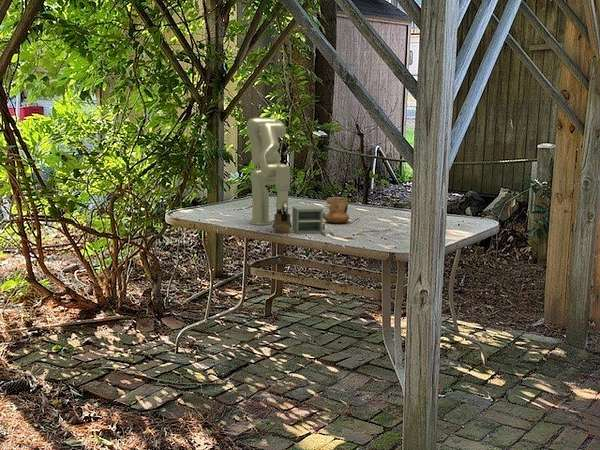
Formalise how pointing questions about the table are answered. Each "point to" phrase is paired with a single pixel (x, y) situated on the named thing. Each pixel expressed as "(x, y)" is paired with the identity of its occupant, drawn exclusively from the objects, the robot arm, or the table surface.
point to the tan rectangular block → (281, 224)
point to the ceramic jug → (337, 210)
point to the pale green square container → (308, 220)
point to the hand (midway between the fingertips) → (282, 220)
